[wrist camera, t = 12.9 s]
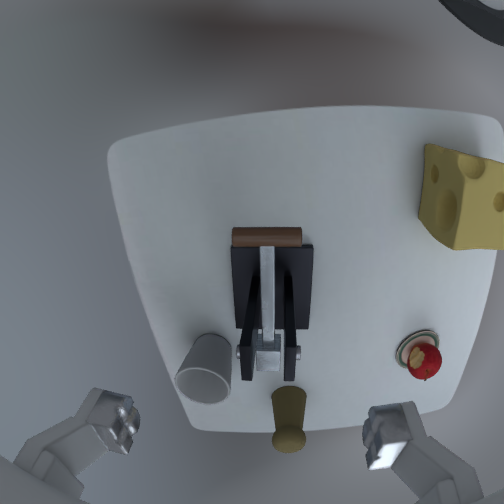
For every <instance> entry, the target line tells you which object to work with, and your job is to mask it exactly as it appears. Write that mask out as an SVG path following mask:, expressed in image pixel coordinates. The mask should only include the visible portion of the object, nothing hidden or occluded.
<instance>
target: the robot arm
mask: <svg viewBox="0 0 504 504" xmlns="http://www.w3.org/2000/svg"><path fill="white" fill-rule="evenodd" d="M479 1H480V2H482V3H483V4H485V5H486V6H488V7H490V8H493V9H496V10H504V0H479ZM133 403H134V401H133V399H132V397H131V396H127V395H123V394H118V393H114V392H110V391H107V390H102V389H98V388H93V389H92V390H91V391H90V392H89V394H88V395H87V397H86V399H85V400H84V402H83V403H82V405H81V407H80V408H79V410H78V412H77V413H76V415H75V416H74V417H69V418H68V419H66V420H64V421H62V422H60V423H59V424H56V425H55V426H53V427H51V428H49V429H47V430H45V431H43V432H42V433H39V434H38V435H36V436H34V437H32V438H30V439H28V440H27V441H26V442H25V444H24V446H23V447H22V449H21V450H20V452H19V454H18V456H17V457H16V459H15V461H14V462H13V463H11V462H10V461H8V460H7V459H5V458H4V457H2V456H1V455H0V504H89V503H87V502H85V501H82V500H80V496H81V494H82V492H83V489H84V485H83V484H82V483H81V482H80V481H79V480H78V479H77V478H76V477H75V476H76V475H78V474H79V473H80V472H82V471H83V470H84V469H86V468H87V467H88V466H90V465H91V464H92V463H94V462H95V461H96V460H97V459H99V458H100V457H101V456H103V455H104V454H105V453H106V452H108V450H109V451H113V452H116V453H120V454H124V455H128V453H129V451H130V448H131V446H132V443H133V440H132V437H131V436H133V435H134V434H136V433H137V432H138V429H139V426H140V415H139V412H138V410H137V409H136V408H135V407H133ZM368 415H369V418H368V419H367V420H365V422H364V425H363V432H362V436H363V444H364V446H366V447H367V448H368V451H367V453H366V461H367V467H368V470H374V469H382V468H389V467H391V469H392V470H393V471H394V472H395V473H396V474H397V475H398V476H399V478H400V479H401V480H402V481H403V482H404V483H405V484H406V485H407V486H408V487H409V488H410V489H411V490H412V491H413V492H414V493H415V494H416V495H417V496H418V497H419V499H420V500H418V501H417V502H416V503H415V504H504V488H503V489H501V490H499V491H497V492H495V493H493V494H491V495H489V496H486V497H484V496H483V492H482V489H481V486H480V483H479V480H478V477H477V475H476V472H475V469H474V468H473V467H472V466H470V465H469V464H468V463H466V462H465V461H464V460H462V459H461V458H459V457H458V456H457V455H455V454H454V453H453V452H451V451H450V450H448V449H447V448H446V447H445V446H443V445H442V444H440V443H439V442H438V441H437V440H435V439H434V438H432V437H431V436H429V437H427V435H426V432H425V430H424V426H423V424H422V421H421V418H420V416H419V413H418V410H417V408H416V405H415V403H414V402H413V401H409V402H403V403H394V404H387V405H380V406H372V407H371V408H370V410H369V412H368Z"/></svg>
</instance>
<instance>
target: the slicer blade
mask: <svg viewBox="0 0 504 504" xmlns="http://www.w3.org/2000/svg"><path fill="white" fill-rule="evenodd" d="M232 245H233V247H260V279H261V312H262V334H258V335H257V345H256V365H257V371H280V350H281V334H275V247H301V246H302V228H301V227H234V228H233V229H232Z"/></svg>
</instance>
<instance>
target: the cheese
mask: <svg viewBox="0 0 504 504" xmlns="http://www.w3.org/2000/svg"><path fill="white" fill-rule="evenodd" d="M418 219H419V220H420V221H421V222H422V224H423V225H424V226H425V228H426V229H427V230H428V231H429V233H430V234H431V235H432V236H433V237H434V238H435V239H436V240H438V241H439V242H440V243H442V244H443V245H445V246H447V247H448V248H450V249H452V250H467V249H494V250H504V163H501V162H497V161H494V160H491V159H487V158H481V157H476V156H472V155H469V154H465V153H462V152H459V151H456V150H452V149H447V148H444V147H440V146H437V145H434V144H426V145H425V168H424V179H423V189H422V196H421V203H420V209H419V216H418Z"/></svg>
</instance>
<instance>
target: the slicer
mask: <svg viewBox="0 0 504 504" xmlns="http://www.w3.org/2000/svg"><path fill="white" fill-rule="evenodd" d="M313 250H314V248H313V245H302V246H301V247H275V329H284V381H294V378H295V366H296V360H300V358H301V346H297V342H296V329H308V327H309V315H310V301H311V287H312V270H313ZM231 262H232V277H233V292H234V306H235V320H236V328H238V329H242V334H241V339H240V344H239V345H237V350H236V356H237V359H240V365H241V377H242V380H246V381H252V377H253V369H254V361H255V352H256V344H257V335H258V329H262V312H261V279H260V247H233V245H232V246H231Z"/></svg>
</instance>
